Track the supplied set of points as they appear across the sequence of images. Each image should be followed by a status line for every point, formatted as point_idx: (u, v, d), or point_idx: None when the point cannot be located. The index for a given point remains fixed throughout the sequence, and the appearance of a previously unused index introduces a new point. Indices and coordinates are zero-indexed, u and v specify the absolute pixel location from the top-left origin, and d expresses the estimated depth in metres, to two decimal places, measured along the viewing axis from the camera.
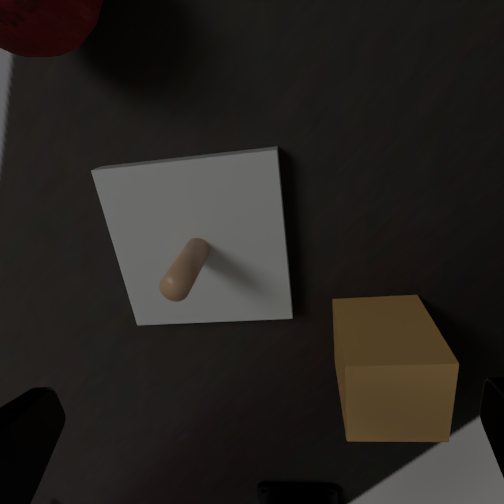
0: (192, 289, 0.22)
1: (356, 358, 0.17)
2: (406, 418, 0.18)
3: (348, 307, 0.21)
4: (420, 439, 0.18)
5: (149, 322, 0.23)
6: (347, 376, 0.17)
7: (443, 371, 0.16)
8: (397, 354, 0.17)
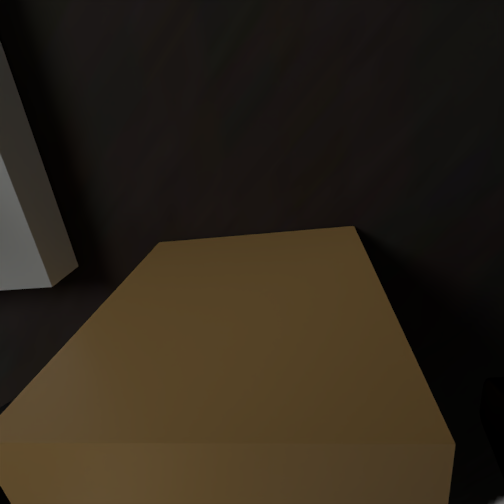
0: None
1: (53, 404, 0.04)
2: None
3: (178, 255, 0.08)
4: None
5: None
6: (3, 480, 0.04)
7: (383, 474, 0.04)
8: (210, 389, 0.04)
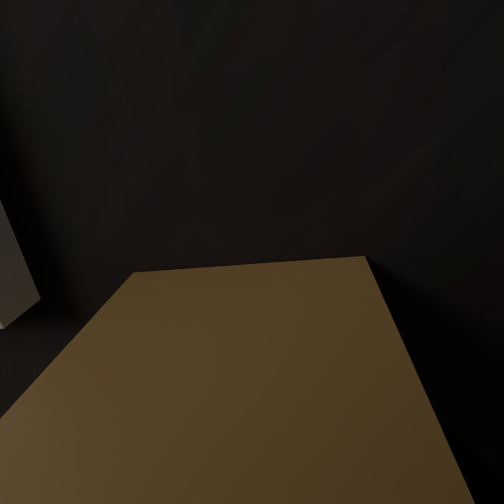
0: None
1: None
2: None
3: (152, 293, 0.07)
4: None
5: None
6: None
7: None
8: None
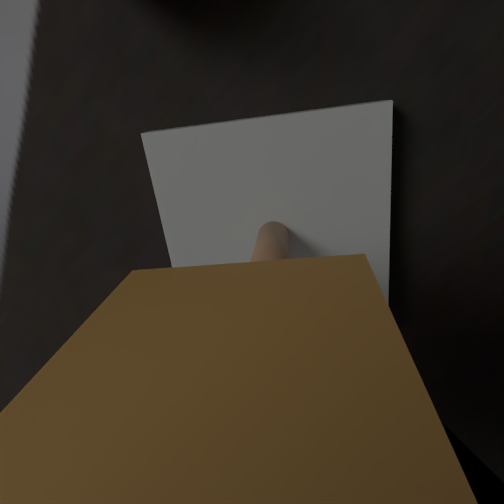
0: None
1: None
2: None
3: (151, 291, 0.07)
4: None
5: None
6: None
7: None
8: None
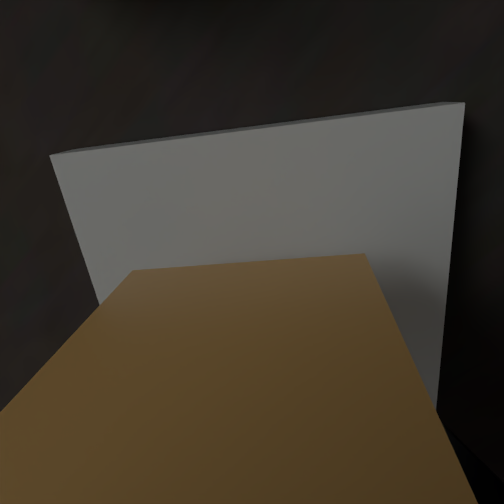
0: None
1: None
2: None
3: (151, 291, 0.07)
4: None
5: None
6: None
7: None
8: None
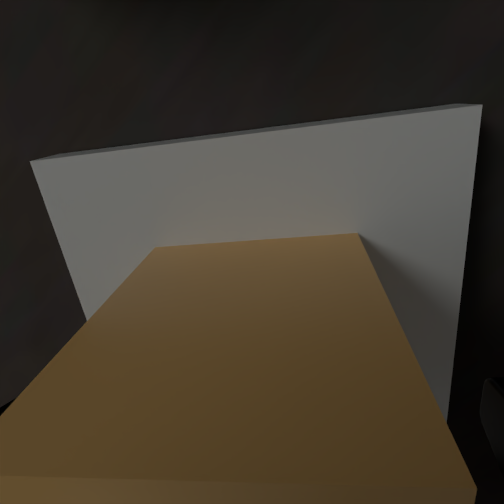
0: None
1: (35, 430, 0.04)
2: None
3: (174, 262, 0.08)
4: None
5: None
6: None
7: None
8: (205, 415, 0.04)
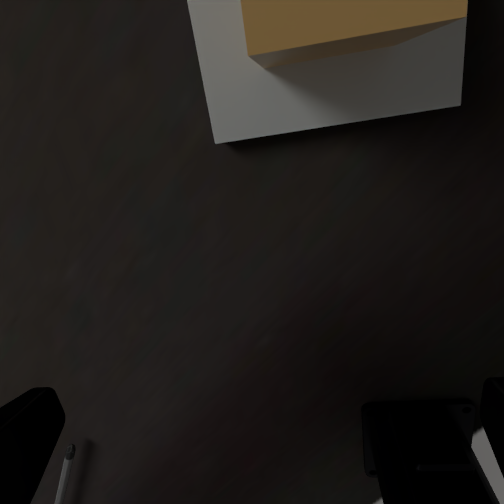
0: (305, 65, 0.14)
1: None
2: None
3: None
4: (402, 21, 0.08)
5: (234, 137, 0.15)
6: None
7: None
8: None
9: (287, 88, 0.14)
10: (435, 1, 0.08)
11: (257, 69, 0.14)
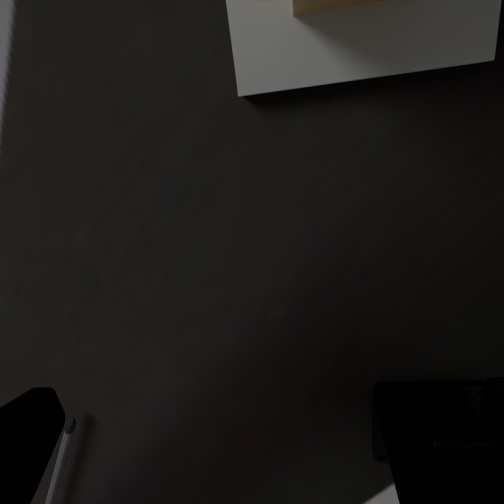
0: (336, 13, 0.14)
1: None
2: None
3: None
4: None
5: (258, 89, 0.15)
6: None
7: None
8: None
9: (316, 38, 0.14)
10: None
11: (287, 16, 0.14)
